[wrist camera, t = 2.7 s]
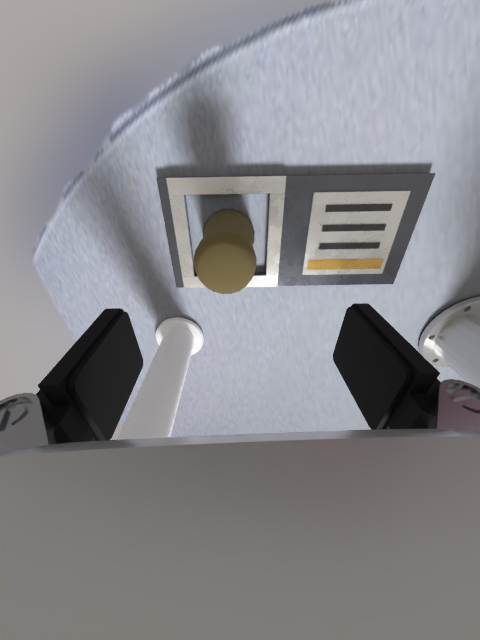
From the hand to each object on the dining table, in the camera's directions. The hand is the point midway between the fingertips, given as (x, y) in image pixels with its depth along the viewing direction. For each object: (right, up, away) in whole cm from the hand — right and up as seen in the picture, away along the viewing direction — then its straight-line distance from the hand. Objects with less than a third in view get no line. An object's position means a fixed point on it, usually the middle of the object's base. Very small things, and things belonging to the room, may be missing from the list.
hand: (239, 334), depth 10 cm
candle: (-9, -2, +25) cm, 27 cm away
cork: (-1, +11, +17) cm, 20 cm away
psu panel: (+6, +11, +17) cm, 21 cm away
